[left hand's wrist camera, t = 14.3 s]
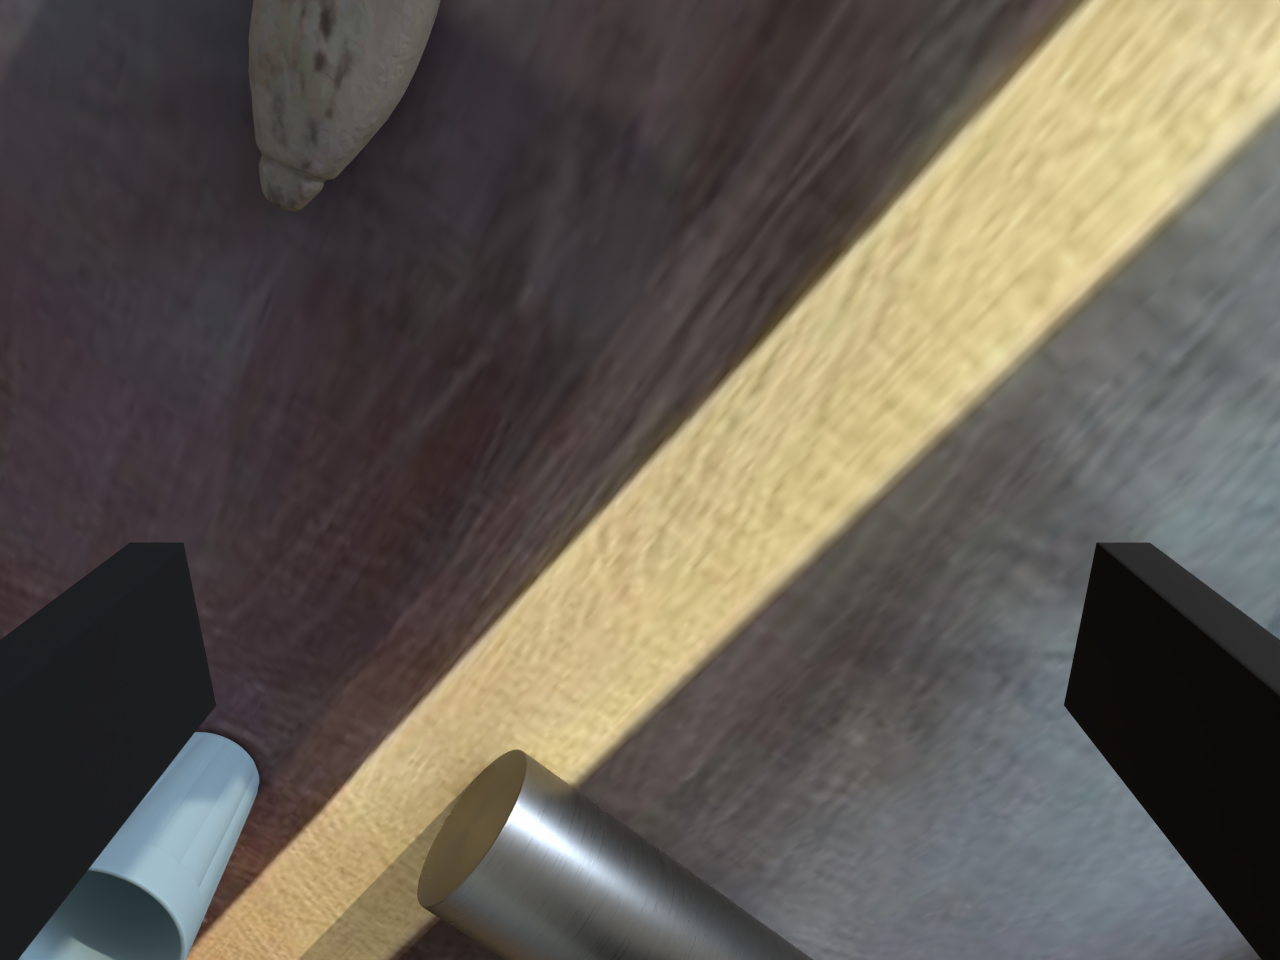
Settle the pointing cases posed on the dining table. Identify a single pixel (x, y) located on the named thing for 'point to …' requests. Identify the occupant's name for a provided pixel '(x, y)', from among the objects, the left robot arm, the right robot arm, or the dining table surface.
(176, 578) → the left robot arm
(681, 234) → the dining table surface
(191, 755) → the cup
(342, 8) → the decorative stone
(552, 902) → the rod
